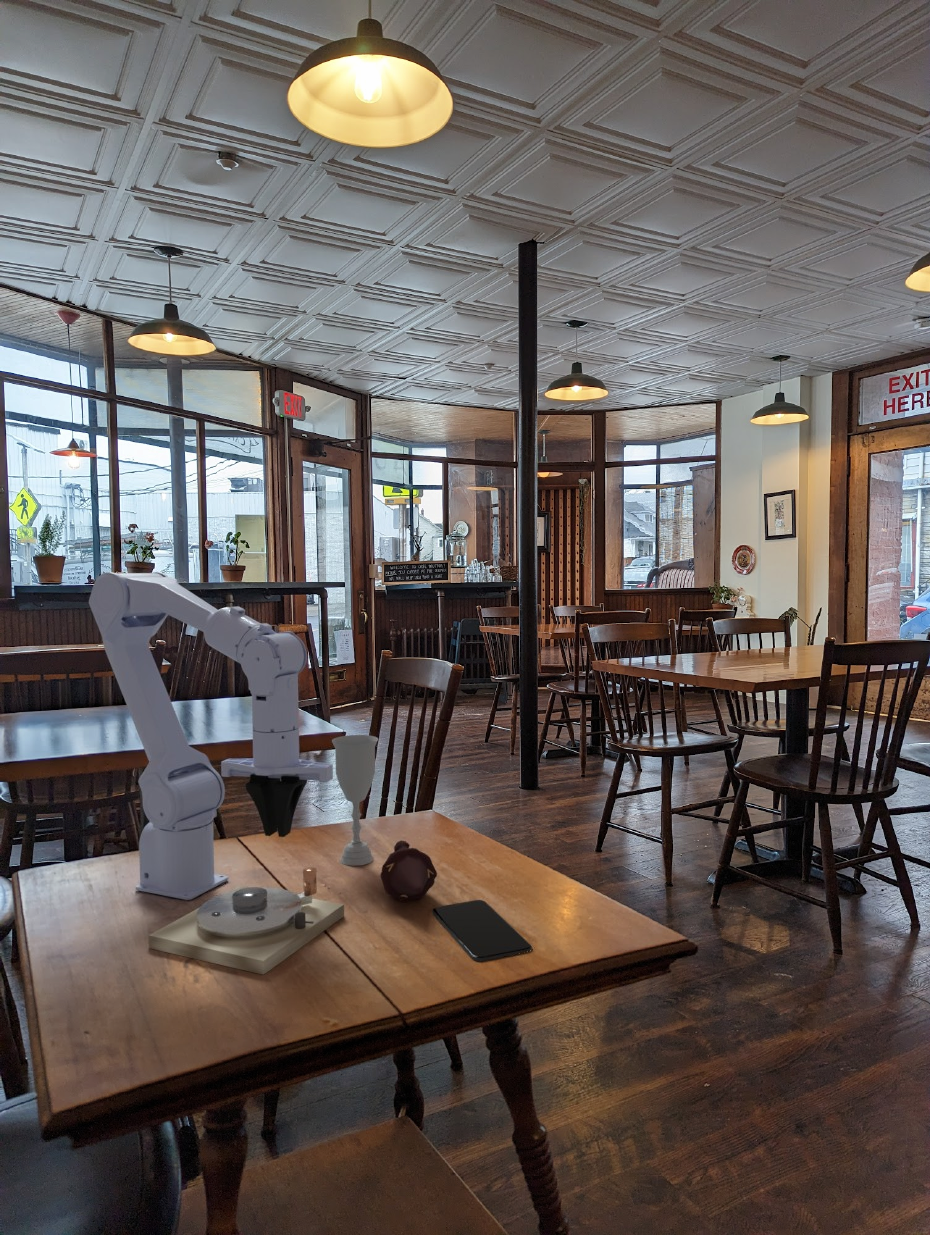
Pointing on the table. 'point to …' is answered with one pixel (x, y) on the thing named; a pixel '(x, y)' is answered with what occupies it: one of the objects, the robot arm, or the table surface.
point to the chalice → (355, 787)
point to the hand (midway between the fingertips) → (277, 834)
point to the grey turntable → (255, 909)
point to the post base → (246, 939)
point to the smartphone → (480, 930)
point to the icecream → (407, 873)
